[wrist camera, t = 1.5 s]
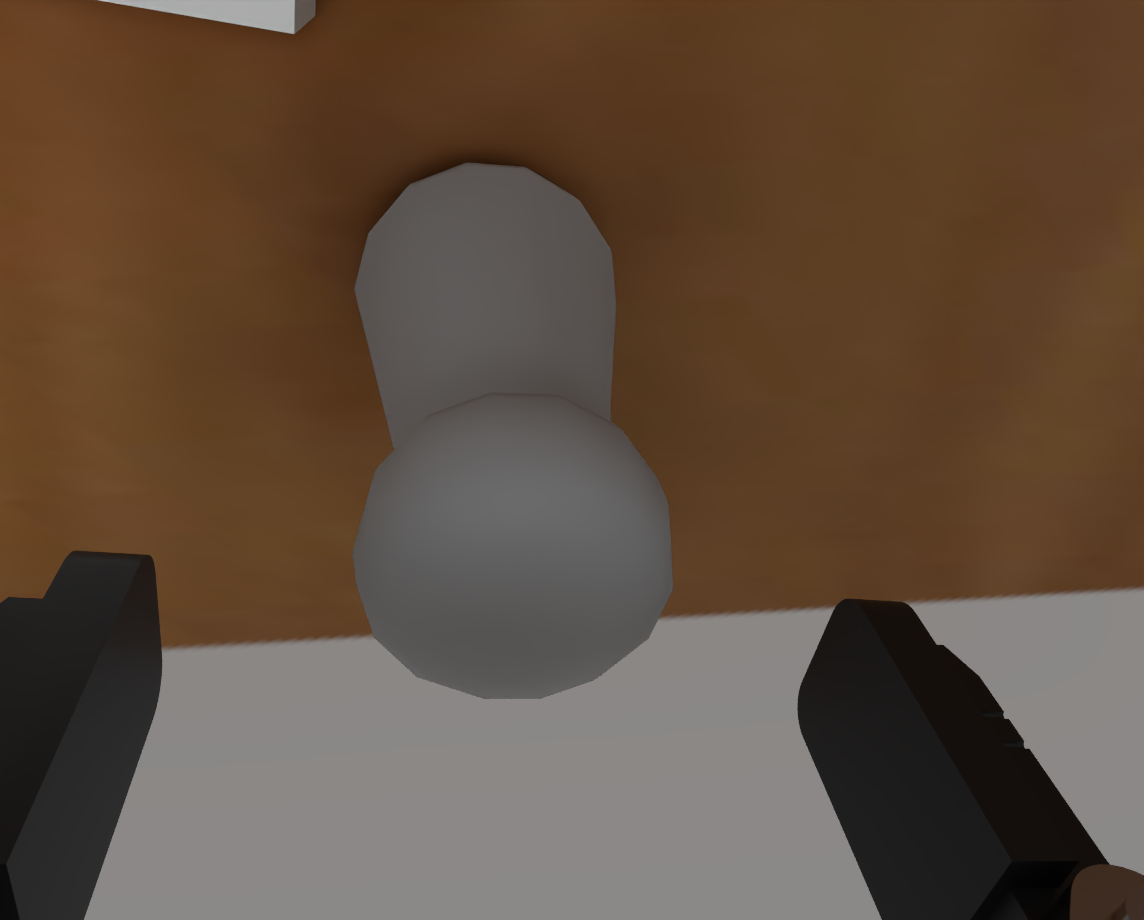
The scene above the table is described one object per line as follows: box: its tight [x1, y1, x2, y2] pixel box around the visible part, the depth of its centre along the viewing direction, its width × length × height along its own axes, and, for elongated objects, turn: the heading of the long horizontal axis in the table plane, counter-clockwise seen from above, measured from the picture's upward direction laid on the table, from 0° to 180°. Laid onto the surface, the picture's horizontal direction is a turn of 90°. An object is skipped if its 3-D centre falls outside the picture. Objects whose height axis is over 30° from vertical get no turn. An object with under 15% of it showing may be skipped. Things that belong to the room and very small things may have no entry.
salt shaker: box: [352, 162, 673, 699], centre depth 16 cm, size 6×6×13 cm
